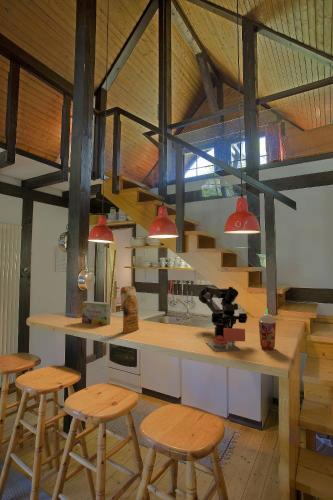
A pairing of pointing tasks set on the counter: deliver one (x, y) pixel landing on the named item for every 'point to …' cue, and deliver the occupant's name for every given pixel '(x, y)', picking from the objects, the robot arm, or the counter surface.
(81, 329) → the counter surface
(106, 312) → the snack box
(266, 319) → the smoothie
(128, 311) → the pancake mix bag
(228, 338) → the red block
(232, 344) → the grey base plate
